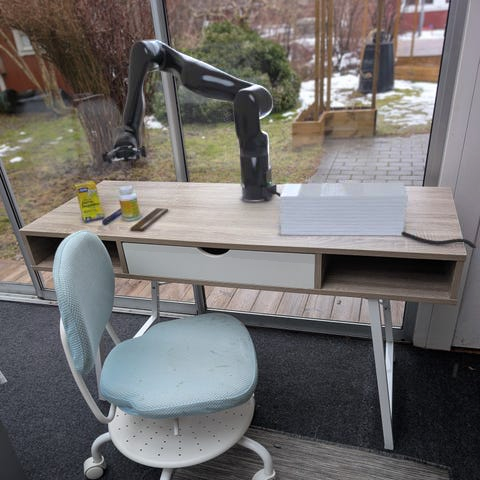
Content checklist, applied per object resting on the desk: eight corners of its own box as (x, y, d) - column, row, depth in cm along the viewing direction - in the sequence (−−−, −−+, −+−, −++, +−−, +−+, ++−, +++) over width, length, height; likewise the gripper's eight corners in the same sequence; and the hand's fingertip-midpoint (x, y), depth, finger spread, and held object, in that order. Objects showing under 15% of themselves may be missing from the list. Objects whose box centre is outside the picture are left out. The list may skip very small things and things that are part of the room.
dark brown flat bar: (156, 210, 153) (156, 207, 153) (168, 210, 152) (167, 208, 152) (130, 230, 140) (130, 228, 140) (142, 231, 139) (142, 228, 138)
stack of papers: (398, 220, 133) (403, 182, 127) (402, 235, 124) (408, 195, 118) (284, 220, 138) (283, 183, 133) (280, 234, 130) (279, 196, 124)
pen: (125, 208, 157) (124, 203, 156) (130, 209, 156) (129, 204, 155) (101, 225, 145) (100, 220, 144) (106, 225, 145) (105, 220, 144)
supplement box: (85, 223, 148) (76, 188, 142) (82, 217, 153) (73, 183, 147) (104, 218, 150) (96, 184, 144) (100, 213, 155) (92, 180, 149)
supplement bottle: (136, 221, 146) (130, 190, 141) (120, 221, 148) (113, 190, 142) (142, 214, 151) (137, 184, 146) (127, 214, 152) (121, 184, 147)
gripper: (102, 138, 161) (98, 149, 147) (144, 134, 162) (144, 144, 148) (107, 161, 165) (103, 173, 151) (148, 156, 166) (148, 168, 153)
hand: (123, 159), depth 150 cm, fingers open, 8 cm apart
